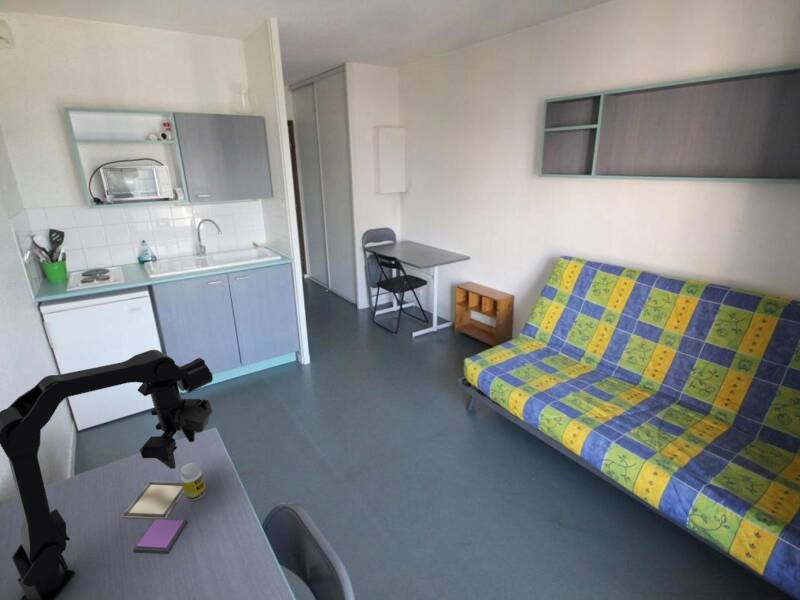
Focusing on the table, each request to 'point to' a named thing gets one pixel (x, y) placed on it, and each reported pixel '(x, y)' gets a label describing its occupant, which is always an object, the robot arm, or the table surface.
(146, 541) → the ink pad
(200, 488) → the supplement bottle
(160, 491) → the marked board
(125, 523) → the table surface
